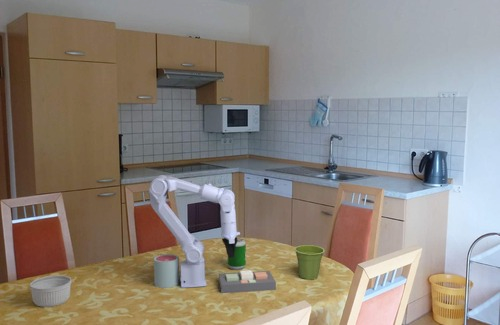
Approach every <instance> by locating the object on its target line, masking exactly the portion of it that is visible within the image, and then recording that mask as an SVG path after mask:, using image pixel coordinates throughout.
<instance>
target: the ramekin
mask: <svg viewBox="0 0 500 325" xmlns="http://www.w3.org/2000/svg"><path fill="white" fill-rule="evenodd" d="M71 285H72V278H71V277H70V276H67V275H61V274H59V275H56V274H55V275H47V276H43V277H39V278H36V279H34V280H32V282H30V284H29V289H30V293H31V298H32V301H33V303H34V304H35V306H37V307H42V308H43V307H44V308H47V307H49V308H50V307H55V306H58V305H59V306H60V305H62V304H64V303H66V302H67V301H68V299H69V298H70V296H71Z"/></svg>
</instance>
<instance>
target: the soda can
mask: <svg viewBox="0 0 500 325" xmlns="http://www.w3.org/2000/svg"><path fill="white" fill-rule="evenodd" d="M237 240H238V241H237V244H236V247H235V253H234V257H231V258H228V257H227V266H228V267H229V269H230V270H233V271H242V270H243V269H244V268H246V265H247V242H246V240H244V239H243V238H241V237H237Z"/></svg>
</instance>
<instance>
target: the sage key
mask: <svg viewBox="0 0 500 325" xmlns="http://www.w3.org/2000/svg"><path fill="white" fill-rule="evenodd" d="M226 281H239V277H238V274H226Z"/></svg>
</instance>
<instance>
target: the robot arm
mask: <svg viewBox="0 0 500 325" xmlns="http://www.w3.org/2000/svg"><path fill="white" fill-rule="evenodd" d="M177 190H180V191H183V192H188V193H191V194H195V195H198V196H199V198H200V199H201V200H204V201H207V202H210V203H211V202H212V203H214V204H219V205H220V211H219V214H220V216H219V217H220V228H221V229H220V230H221V237H222V238H221V240H222V243H223V245H224V247H225V250H226V254H227V259H228V258H231V257H234V253H235V247H236V244H237V241H238V240H237V238H238V237H237V236H240V235H241V232H240V231H237V230H238V229H237V215H236V214H237V213H236V205H235V199H236V198H235V197H236V196H235V193H234V191H232V190H231V189H228V188H224V187H221V188H220V187H216V186H214V185H212V183H209V182H208V184H207V183H205V184H203V185H198V184H196V183H193V182H190V181H188V180H187V181H186V180H183V179H181V178H177V177H174V176H171V175H169V176H168V175H166V174H165V175H164V174H160V175H158V176H157V177H156V178H154V179H153V180H151V181H150V184H149V188H148V193H149V200H150V207H151V208H152V209H153V211H154V212H155V213H156V214H157V216H158V217H159V218H160V220H161V221H162V222H163V223H164V225H165V226H166V227H167V229H168V231H170V232H171V234H172V236H174V237H175V239H176V240H177V242H178V243H179V244H180V247H181V251H182V252H183V253H184V255H185V260H183V261H180V275H179V282H180V287H181V288H183V289H184V288H195V287H196V288H197V287H199V288H201V287H207V281H206V275H205V274H206V268H205V267H206V266H205V264H206V262H205V261H206V260H205V257H204V256H203V254H204V252H205V245H204V243H203V242H202V241H201V240H198V239H197V238H196V237H195V236H194V235H193V234H191V233H190V232H189V231H188V229H187V228H186V227H185V225H184V224H183V222H181V220H180V219H179V218H178V216H177V215H176V213H174V211H173V209H172V208H170V206H169V204H168V203H167V202H166V201H167V195H168V192H169V193H170V192H172V191H177Z"/></svg>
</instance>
